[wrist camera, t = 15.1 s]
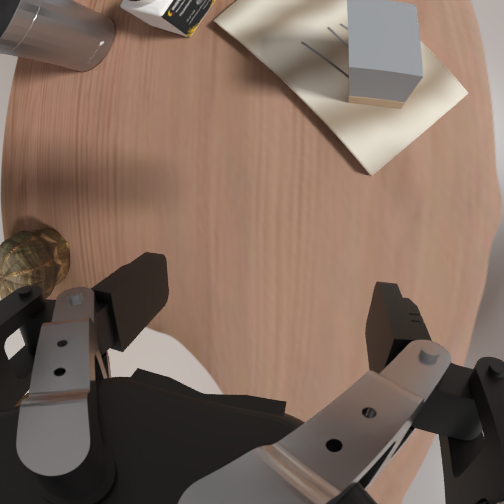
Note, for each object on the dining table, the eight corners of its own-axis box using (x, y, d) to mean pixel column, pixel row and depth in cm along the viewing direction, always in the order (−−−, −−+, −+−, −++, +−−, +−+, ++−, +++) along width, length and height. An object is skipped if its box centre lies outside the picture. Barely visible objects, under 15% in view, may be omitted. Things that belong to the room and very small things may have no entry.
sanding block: (348, 102, 27) (348, 67, 17) (348, 47, 25) (345, -5, 16) (400, 109, 25) (423, 77, 16) (399, 52, 24) (416, 4, 14)
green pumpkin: (53, 297, 47) (0, 321, 35) (32, 238, 46) (-23, 253, 34) (87, 282, 43) (26, 309, 32) (63, 214, 42) (-1, 227, 31)
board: (218, 25, 30) (213, 20, 28) (305, -41, 25) (302, -48, 23) (370, 176, 29) (371, 175, 28) (463, 96, 24) (468, 93, 23)
